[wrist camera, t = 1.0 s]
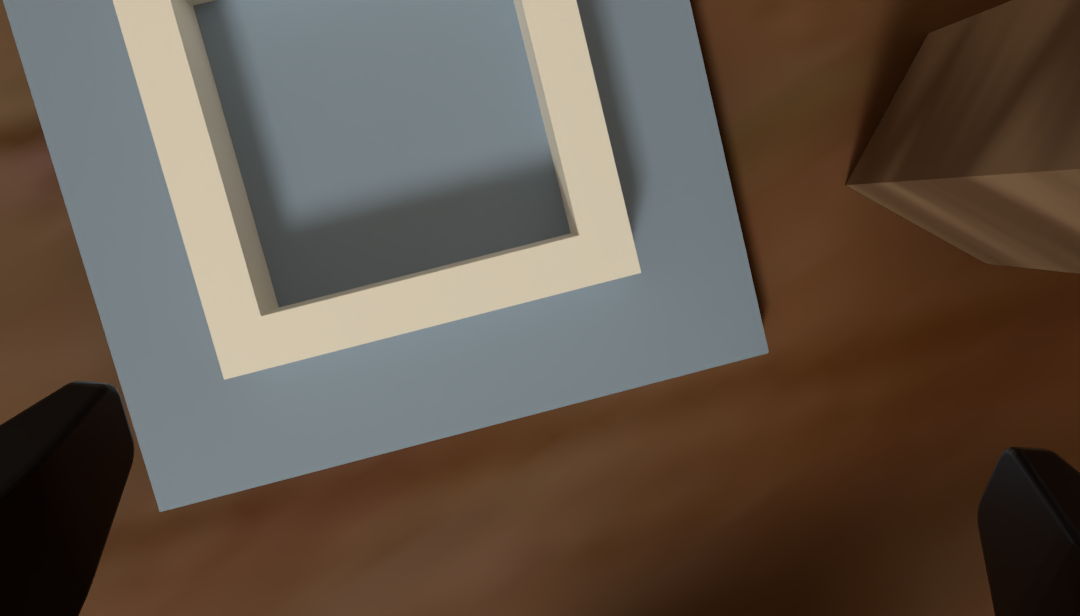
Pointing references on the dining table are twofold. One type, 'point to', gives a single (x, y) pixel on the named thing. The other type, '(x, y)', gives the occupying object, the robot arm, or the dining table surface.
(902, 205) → the walnut pillar
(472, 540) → the dining table surface
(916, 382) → the dining table surface
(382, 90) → the socket
